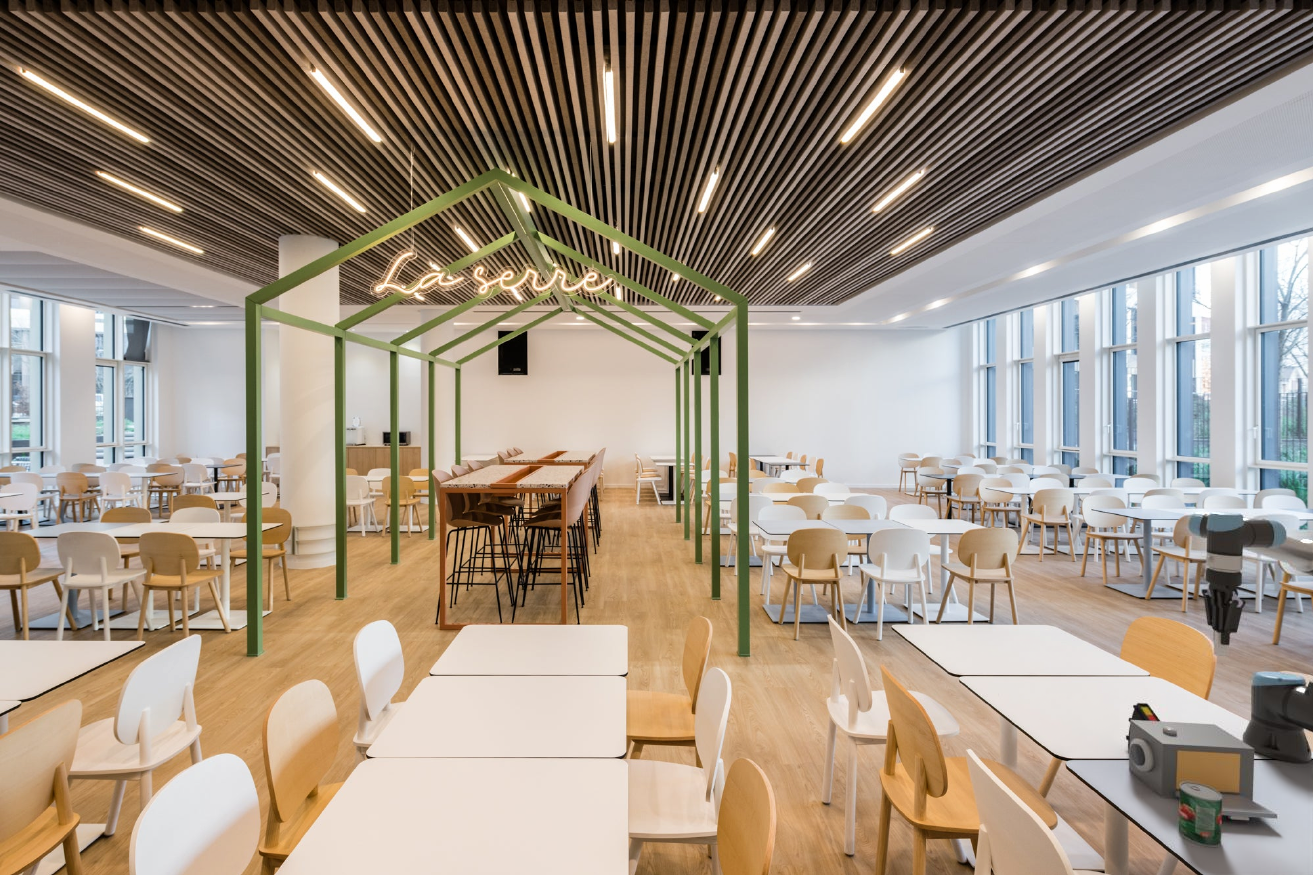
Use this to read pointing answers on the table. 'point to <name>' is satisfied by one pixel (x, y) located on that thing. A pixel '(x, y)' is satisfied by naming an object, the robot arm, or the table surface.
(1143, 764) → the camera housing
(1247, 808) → the door
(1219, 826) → the canned tomato
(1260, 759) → the table surface
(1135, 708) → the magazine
